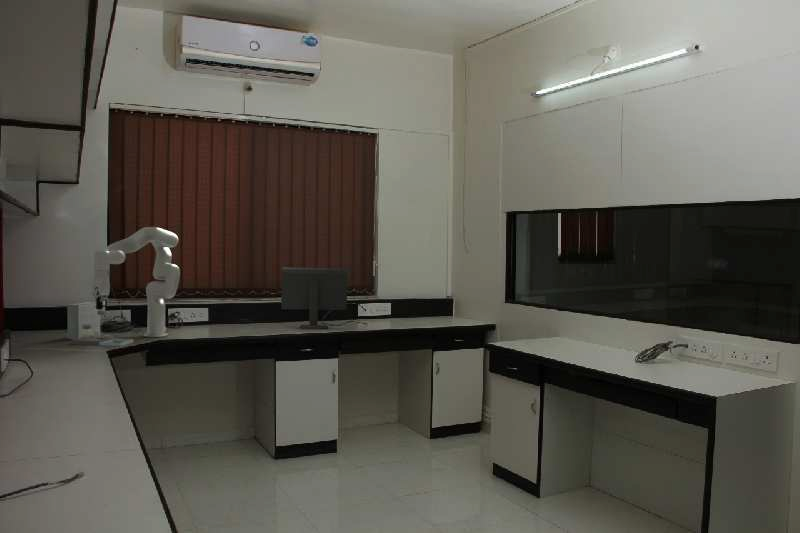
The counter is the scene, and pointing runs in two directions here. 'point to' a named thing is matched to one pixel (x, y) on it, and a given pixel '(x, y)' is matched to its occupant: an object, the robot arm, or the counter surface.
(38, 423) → the counter surface
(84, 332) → the fuse
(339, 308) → the computer monitor
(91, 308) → the hard drive box
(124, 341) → the parts tray
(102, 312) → the fuse
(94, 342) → the fuse holder
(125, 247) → the robot arm
